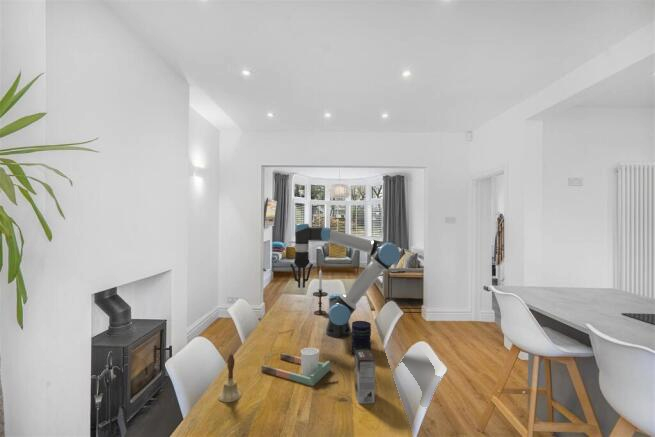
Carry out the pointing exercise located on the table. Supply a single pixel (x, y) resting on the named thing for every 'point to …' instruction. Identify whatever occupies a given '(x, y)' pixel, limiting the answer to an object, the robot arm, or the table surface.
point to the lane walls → (273, 370)
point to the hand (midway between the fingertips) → (301, 293)
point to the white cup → (309, 361)
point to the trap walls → (285, 373)
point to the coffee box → (364, 376)
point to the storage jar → (361, 336)
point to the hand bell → (230, 384)
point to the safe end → (313, 378)
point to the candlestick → (320, 295)
